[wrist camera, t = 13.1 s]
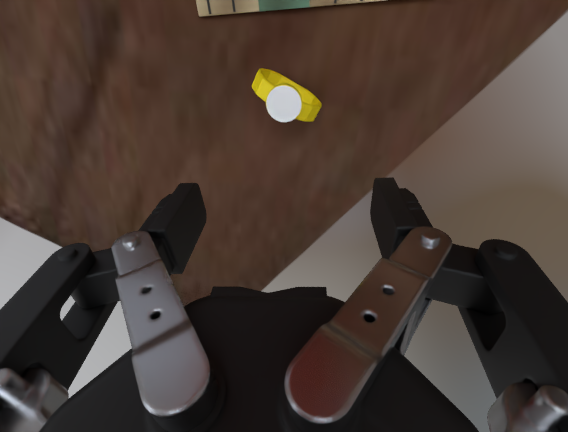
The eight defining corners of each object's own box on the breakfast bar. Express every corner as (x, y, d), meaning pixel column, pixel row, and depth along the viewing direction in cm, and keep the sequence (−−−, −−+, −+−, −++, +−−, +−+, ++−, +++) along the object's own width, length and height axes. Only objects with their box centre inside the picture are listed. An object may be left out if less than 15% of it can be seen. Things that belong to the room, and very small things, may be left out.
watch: (324, 89, 27) (329, 108, 22) (309, 116, 28) (310, 139, 24) (266, 55, 26) (257, 67, 21) (253, 85, 27) (242, 103, 22)
